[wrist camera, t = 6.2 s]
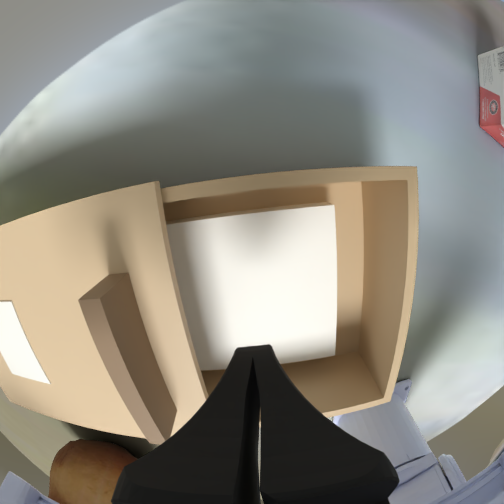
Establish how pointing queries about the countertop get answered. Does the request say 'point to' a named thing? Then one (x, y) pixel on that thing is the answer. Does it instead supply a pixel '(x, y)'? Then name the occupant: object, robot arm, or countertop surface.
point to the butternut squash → (87, 472)
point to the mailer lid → (98, 317)
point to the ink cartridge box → (492, 93)
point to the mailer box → (301, 275)
